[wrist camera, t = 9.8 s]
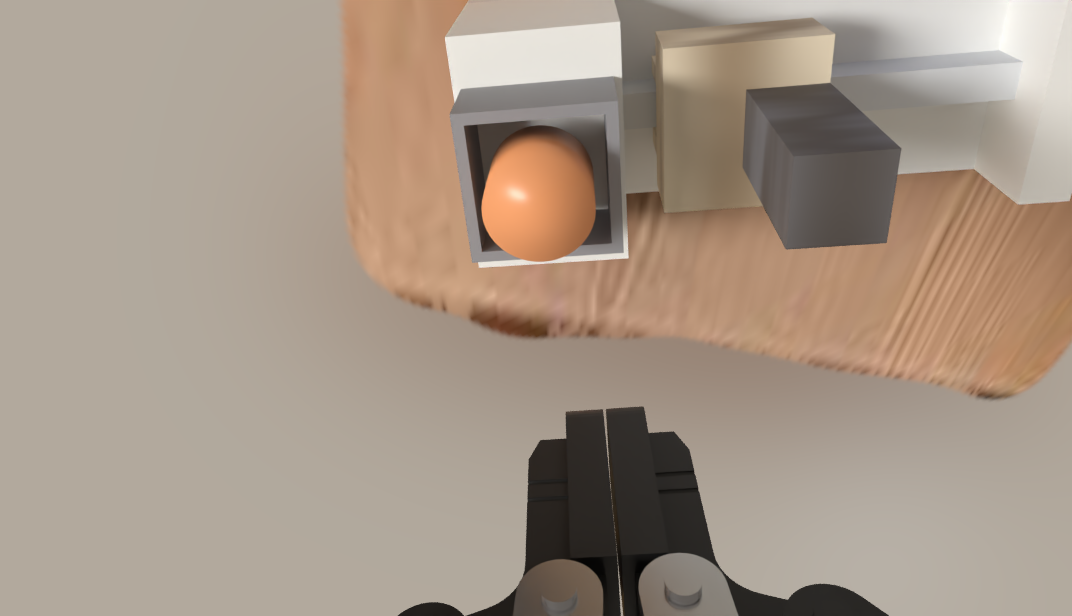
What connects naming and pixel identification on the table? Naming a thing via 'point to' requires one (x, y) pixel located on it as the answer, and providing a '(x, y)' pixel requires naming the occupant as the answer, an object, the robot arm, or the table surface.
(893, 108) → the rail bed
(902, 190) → the table surface
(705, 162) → the carriage
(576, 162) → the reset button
